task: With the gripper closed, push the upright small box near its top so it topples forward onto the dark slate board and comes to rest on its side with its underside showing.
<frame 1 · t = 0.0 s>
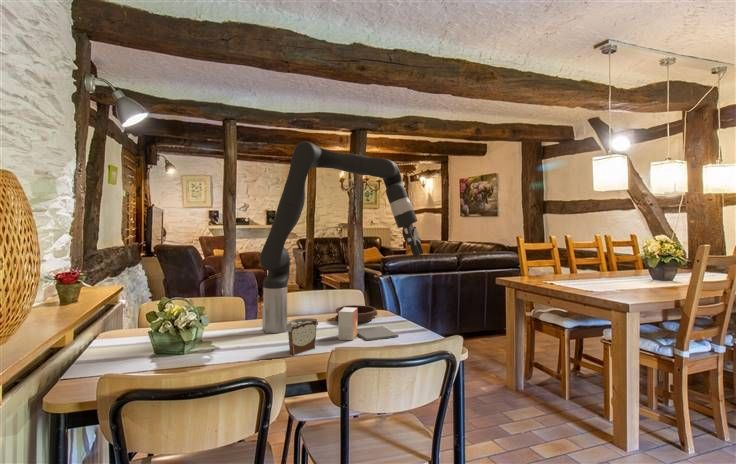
hand: (419, 255, 150), 31 cm above the table, tool tilted 20°, fingers open, 8 cm apart
dish: (356, 320, 186), on the table
small box: (348, 337, 158), on the table
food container: (298, 350, 143), on the table
slate board: (374, 334, 163), on the table
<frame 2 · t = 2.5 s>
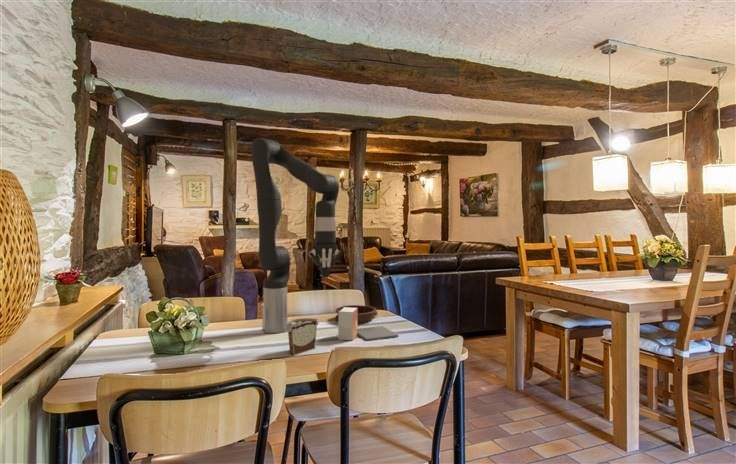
hand: (325, 277, 154), 23 cm above the table, tool pointing down, fingers closed
nothing on the table moved.
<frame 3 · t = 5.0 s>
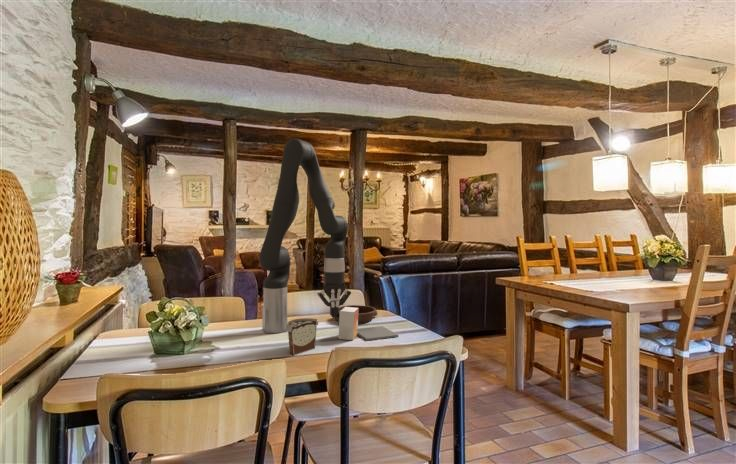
hand: (334, 317, 156), 8 cm above the table, tool pointing down, fingers closed
small box: (348, 337, 158), on the table, touching gripper
everything else where it was.
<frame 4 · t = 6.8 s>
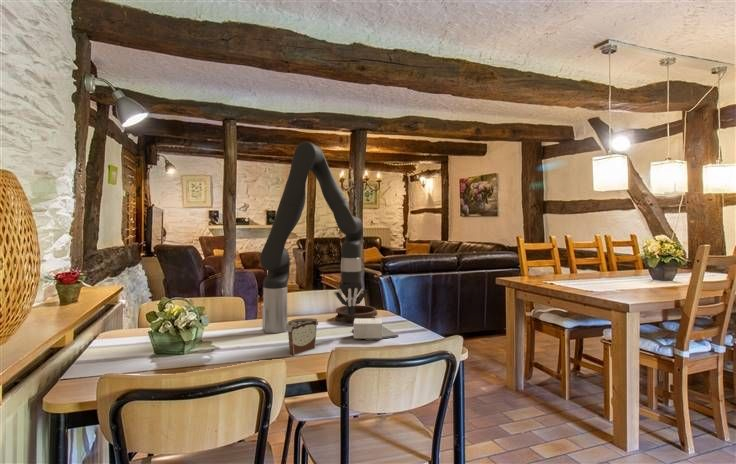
hand: (350, 315, 158), 8 cm above the table, tool pointing down, fingers closed
small box: (353, 328, 158), point 4 cm above the table, touching slate board
everything else where it was.
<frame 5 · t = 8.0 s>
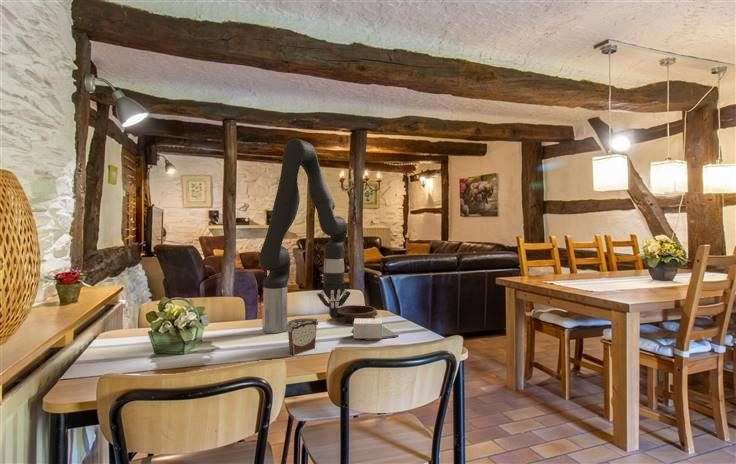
hand: (333, 317, 156), 8 cm above the table, tool pointing down, fingers closed
nothing on the table moved.
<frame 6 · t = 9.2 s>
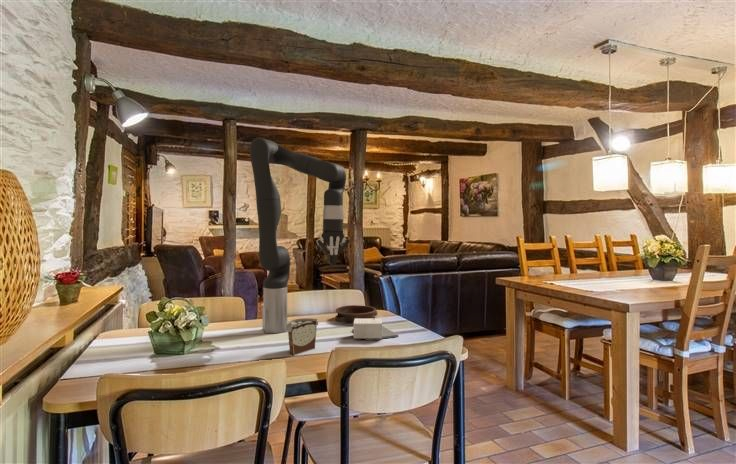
hand: (332, 264, 157), 27 cm above the table, tool pointing down, fingers closed
nothing on the table moved.
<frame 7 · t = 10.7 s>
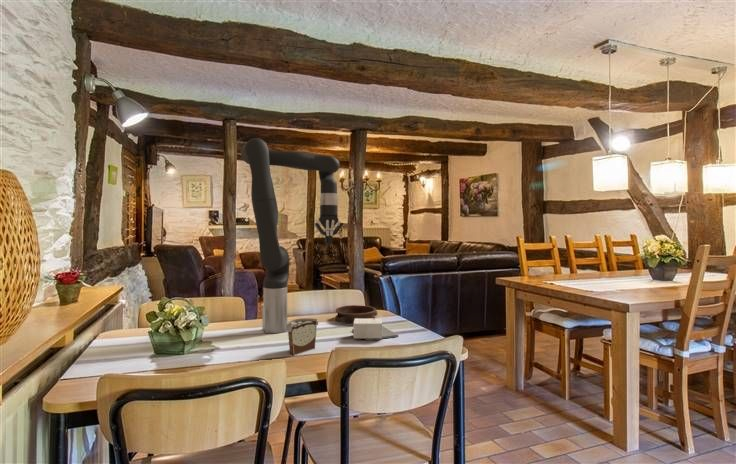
hand: (328, 244, 181), 33 cm above the table, tool pointing down, fingers closed
nothing on the table moved.
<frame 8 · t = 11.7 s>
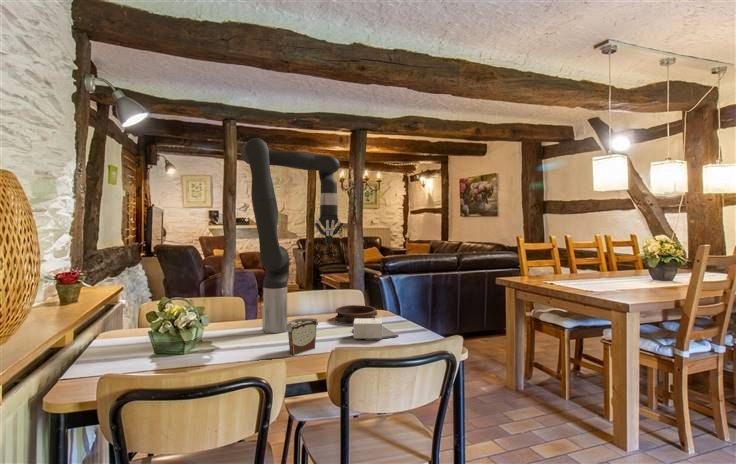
hand: (328, 244, 181), 33 cm above the table, tool pointing down, fingers closed
nothing on the table moved.
at the end: small box tilted 90°; small box inside the target area (9.1 cm from its centre), point 3.6 cm above the table; small box moved 4.1 cm from its start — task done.
